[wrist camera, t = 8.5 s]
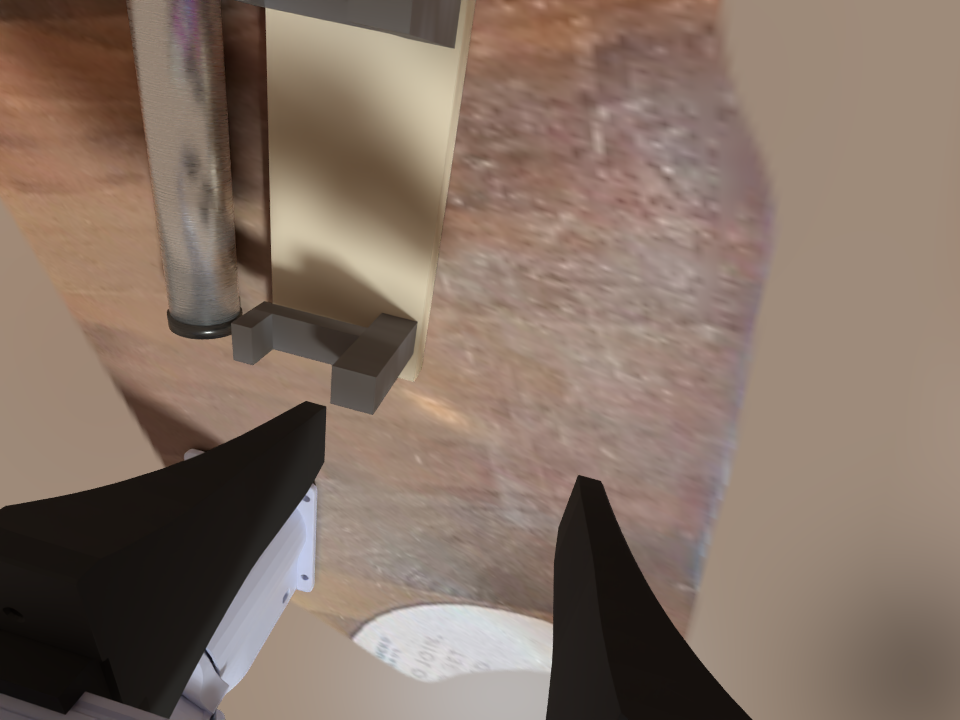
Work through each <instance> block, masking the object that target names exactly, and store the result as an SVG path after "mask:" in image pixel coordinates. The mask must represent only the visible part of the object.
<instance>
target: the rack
mask: <svg viewBox="0 0 960 720" xmlns="http://www.w3.org/2000/svg"><path fill="white" fill-rule="evenodd" d="M236 1H239V2H243V3H247V4H251V5H255V6H260V7H264V8H265V9H266V51H267V93H268V135H269V177H270V219H271V261H272V303H269V302H265V301H264V302H263V303H261V304H260V305H258V306H256V307H255V308H253V309H252V310H250V311H249V312H247V313H246V314H244V315H242V316H241V317H239V318H238V319H236V320H235V321H233V322H232V323H231V331H232V345H233V359H234V360H235V361H239V362H243V363H246V364H250V365H254V364H255V363H256V362H258V361H259V360H260V359H261V358H263V357H264V356H265V355H266V354H268V353H269V352H270V351H271V350H272V349H275V350H278V351H282V352H286V353H290V354H294V355H297V356H301V357H305V358H309V359H312V360H316V361H320V362H324V363H328V364H331V365H332V379H331V402H330V403H331V404H334V405H338V406H342V407H345V408H349V409H353V410H356V411H360V412H364V413H368V414H371V415H373V414H374V412H375V411H376V409H377V408H378V406H379V405H380V403H381V402H382V400H383V399H384V397H385V396H386V394H387V393H388V391H389V390H390V388H391V387H392V385H393V384H394V382H395V381H396V379H397V378H402V379H405V380H409V381H413V382H414V381H415V379H416V378H417V376H418V374H419V373H420V371H421V369H422V363H423V356H424V349H425V343H426V336H427V329H428V322H429V315H430V309H431V302H432V295H433V288H434V282H435V275H436V268H437V261H438V254H439V248H440V241H441V234H442V227H443V220H444V214H445V207H446V200H447V193H448V186H449V180H450V173H451V166H452V159H453V152H454V146H455V139H456V132H457V125H458V118H459V112H460V105H461V98H462V91H463V84H464V78H465V71H466V64H467V57H468V50H469V44H470V37H471V30H472V23H473V16H474V10H475V3H476V0H236Z"/></svg>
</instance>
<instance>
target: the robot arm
mask: <svg viewBox="0 0 960 720" xmlns="http://www.w3.org/2000/svg"><path fill="white" fill-rule="evenodd" d="M325 430H326V406H322V405H319V404H315V403H311V402H308V401H305V402H303V403H301V404H299V405H297V406H296V407H294V408H292V409H290V410H288V411H286V412H284V413H283V414H281V415H279V416H277V417H275V418H273V419H272V420H270V421H268V422H266V423H264V424H262V425H260V426H258V427H256V428H254V429H253V430H251V431H249V432H247V433H245V434H243V435H241V436H239V437H237V438H235V439H232V440H230V441H228V442H226V443H224V444H222V445H220V446H217V447H215V448H213V449H211V450H209V451H207V452H203V451H200V450H196V449H189V450H188V451H187V452H186V453H185V454H184V461H182V462H179V463H177V464H174V465H171V466H169V467H166V468H163V469H160V470H157V471H154V472H151V473H147V474H144V475H141V476H138V477H135V478H131V479H128V480H125V481H121V482H118V483H115V484H110V485H107V486H103V487H99V488H95V489H91V490H87V491H82V492H78V493H74V494H69V495H64V496H59V497H54V498H48V499H43V500H37V501H32V502H27V503H21V504H16V505H9V506H5V507H3V508H2V509H0V720H225V715H224V714H223V713H222V712H221V711H220V710H218V709H217V707H218V705H219V704H220V702H221V701H222V699H223V697H224V696H225V694H226V693H227V692H229V691H230V690H231V689H232V688H233V687H235V685H237V684H238V682H240V680H241V679H242V678H243V677H244V676H245V674H246V673H247V671H248V670H249V668H250V667H251V665H252V663H253V661H254V660H255V658H256V656H257V655H258V653H259V651H260V650H261V648H262V646H263V644H264V643H265V641H266V639H267V638H268V636H269V634H270V633H271V631H272V629H273V627H274V625H275V624H276V622H277V621H278V619H279V617H280V615H281V614H282V612H283V610H284V609H285V607H286V605H287V604H288V602H289V600H290V598H291V597H292V595H293V593H294V592H295V590H296V589H297V590H301V591H304V592H310V591H312V589H313V587H314V579H315V546H316V514H317V488H316V486H315V485H314V484H313V482H314V480H315V478H316V476H317V474H318V473H319V471H320V469H321V467H322V465H323V463H324V456H325ZM546 720H752V719H751V718H750V717H749V716H748V715H747V714H746V712H745V711H744V710H743V709H742V708H741V707H740V706H739V705H738V704H737V703H736V702H735V701H734V700H733V699H732V698H731V697H730V695H729V694H728V693H727V692H726V691H725V690H724V689H723V687H722V686H721V685H720V684H719V683H718V681H717V680H716V679H715V678H714V677H713V676H712V674H711V673H710V672H709V671H708V670H707V669H706V667H705V666H704V665H703V663H702V662H701V661H700V660H699V659H698V657H697V656H696V655H695V653H694V652H693V651H692V649H691V648H690V647H689V645H688V644H687V642H686V641H685V640H684V638H683V637H682V636H681V634H680V633H679V632H678V630H677V629H676V628H675V626H674V625H673V623H672V622H671V620H670V619H669V617H668V616H667V615H666V613H665V611H664V610H663V608H662V607H661V605H660V603H659V602H658V600H657V599H656V597H655V595H654V594H653V592H652V590H651V589H650V587H649V585H648V583H647V582H646V580H645V578H644V576H643V574H642V572H641V570H640V569H639V567H638V565H637V563H636V561H635V559H634V557H633V555H632V553H631V551H630V549H629V547H628V545H627V542H626V540H625V538H624V536H623V534H622V532H621V529H620V527H619V525H618V522H617V520H616V518H615V515H614V513H613V510H612V508H611V505H610V503H609V500H608V497H607V495H606V492H605V489H604V486H603V484H602V482H601V481H599V480H595V479H591V478H588V477H584V476H580V475H578V477H577V480H576V482H575V485H574V488H573V490H572V493H571V496H570V498H569V501H568V504H567V506H566V509H565V512H564V514H563V517H562V520H561V522H560V525H559V528H558V536H557V543H556V551H555V559H554V602H553V655H552V668H551V679H550V688H549V698H548V706H547V714H546Z"/></svg>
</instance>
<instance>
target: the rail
mask: <svg viewBox="0 0 960 720" xmlns="http://www.w3.org/2000/svg"><path fill="white" fill-rule="evenodd" d="M126 4H127V11H128V18H129V25H130V33H131V40H132V47H133V54H134V61H135V68H136V76H137V83H138V90H139V97H140V104H141V112H142V119H143V126H144V133H145V140H146V147H147V155H148V162H149V169H150V176H151V183H152V191H153V198H154V205H155V212H156V219H157V226H158V234H159V241H160V248H161V255H162V262H163V270H164V277H165V284H166V291H167V298H168V305H169V309H168V311H167V318H168V325H169V328H170V330H171V331H172V332H173V333H175V334H177V335H179V336H182V337H186V338H191V339H216V338H221V337H225V336H228V335H231V334H232V331H231V323H232V322H233V321H235V320H236V319H238V318H239V317H241V316H242V308H241V307H240V305H239V289H238V273H237V257H236V241H235V225H234V209H233V193H232V177H231V161H230V146H229V130H228V114H227V98H226V82H225V66H224V50H223V34H222V18H221V2H220V0H126Z"/></svg>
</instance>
